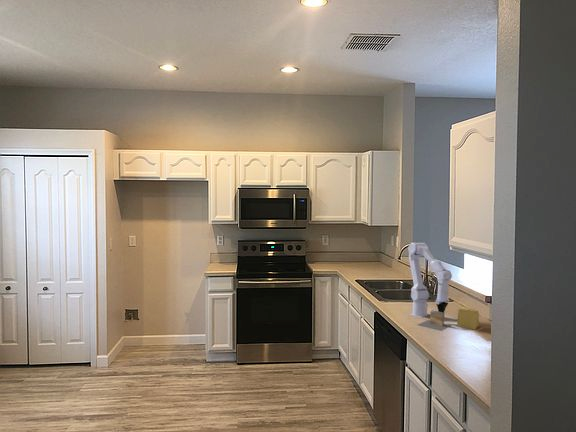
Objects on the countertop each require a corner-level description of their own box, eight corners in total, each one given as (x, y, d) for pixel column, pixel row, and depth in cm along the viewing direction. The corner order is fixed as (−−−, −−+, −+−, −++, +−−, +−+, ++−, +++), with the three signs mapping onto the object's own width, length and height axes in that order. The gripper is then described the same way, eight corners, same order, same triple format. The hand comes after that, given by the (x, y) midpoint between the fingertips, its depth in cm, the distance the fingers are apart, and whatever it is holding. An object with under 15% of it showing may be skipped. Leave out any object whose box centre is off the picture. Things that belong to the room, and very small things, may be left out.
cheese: (478, 326, 271) (480, 309, 271) (475, 330, 262) (477, 312, 261) (459, 322, 277) (461, 306, 276) (456, 327, 267) (457, 309, 267)
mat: (428, 320, 277) (428, 319, 277) (452, 326, 268) (452, 325, 268) (416, 325, 265) (416, 324, 265) (441, 331, 256) (441, 330, 256)
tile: (431, 322, 272) (432, 310, 272) (443, 325, 268) (444, 312, 267) (429, 323, 270) (430, 311, 270) (441, 326, 266) (442, 313, 265)
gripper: (444, 294, 264) (442, 318, 265) (454, 291, 275) (452, 314, 276) (432, 292, 268) (430, 315, 269) (442, 288, 279) (440, 311, 280)
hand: (441, 314), depth 273 cm, fingers closed
